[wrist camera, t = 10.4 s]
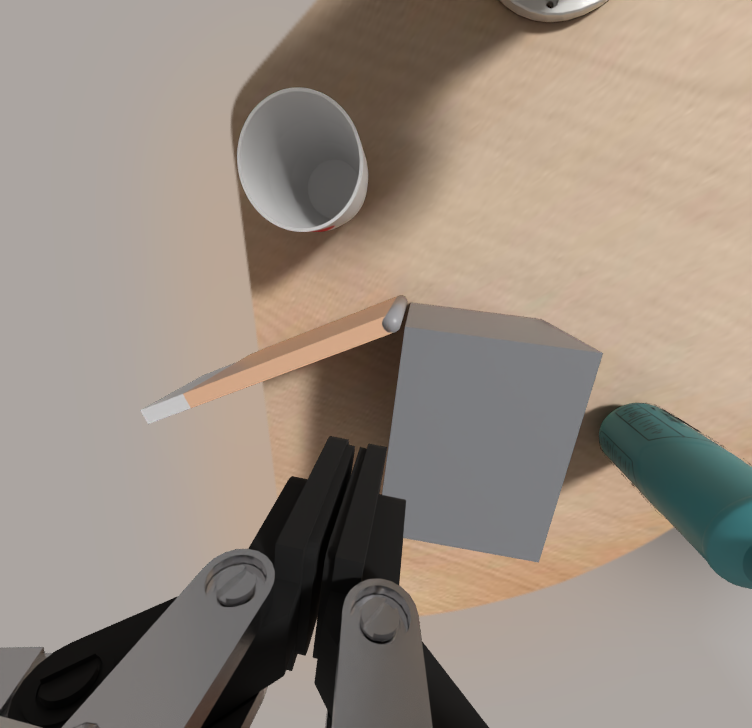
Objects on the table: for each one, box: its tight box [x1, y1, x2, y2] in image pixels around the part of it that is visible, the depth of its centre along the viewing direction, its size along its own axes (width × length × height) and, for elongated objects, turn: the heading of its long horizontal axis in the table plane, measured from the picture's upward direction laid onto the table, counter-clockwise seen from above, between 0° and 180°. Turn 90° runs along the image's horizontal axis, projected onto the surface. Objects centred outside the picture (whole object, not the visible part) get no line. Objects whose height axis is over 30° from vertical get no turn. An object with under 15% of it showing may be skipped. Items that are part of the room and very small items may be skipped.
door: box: [140, 295, 408, 424], centre depth 31 cm, size 21×1×11 cm, turn 112°
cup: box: [237, 87, 368, 232], centre depth 28 cm, size 8×8×10 cm
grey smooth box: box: [382, 303, 603, 562], centre depth 31 cm, size 16×12×12 cm
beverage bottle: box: [599, 403, 752, 589], centre depth 26 cm, size 6×7×20 cm
